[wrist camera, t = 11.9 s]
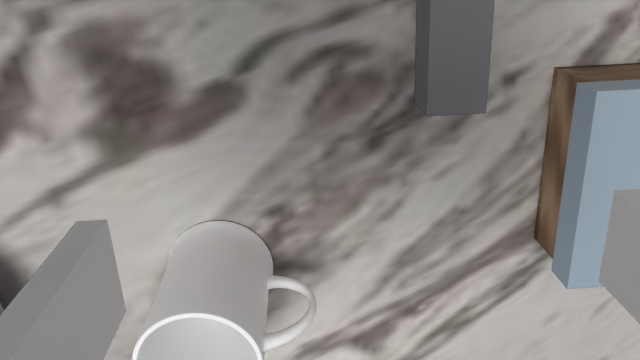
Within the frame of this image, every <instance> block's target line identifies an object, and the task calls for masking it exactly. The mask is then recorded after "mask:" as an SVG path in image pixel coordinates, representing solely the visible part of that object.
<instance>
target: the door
mask: <svg viewBox="0 0 640 360" xmlns="http://www.w3.org/2000/svg"><path fill="white" fill-rule="evenodd" d="M627 189H640V79H638V80H619V81H599V82H580V83H577V87H576V94H575V102H574V109H573V116H572V124H571V131H570V138H569V146H568V153H567V160H566V168H565V175H564V182H563V190H562V197H561V204H560V212H559V219H558V226H557V234H556V241H555V248H554V256H553V263H552V271H553V273H554V274H555V275H556V276H557V277H558V279H559V280H560V281H561V282H562V283H563V285H564V286H565V287H566V288H567V289H576V288H592V287H604V286H603V285H602V284H601V283H600V282H599V275H600V269H601V264H602V258H603V252H604V246H605V241H606V235H607V229H608V224H609V218H610V212H611V206H612V201H613V195H614V190H627Z"/></svg>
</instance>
